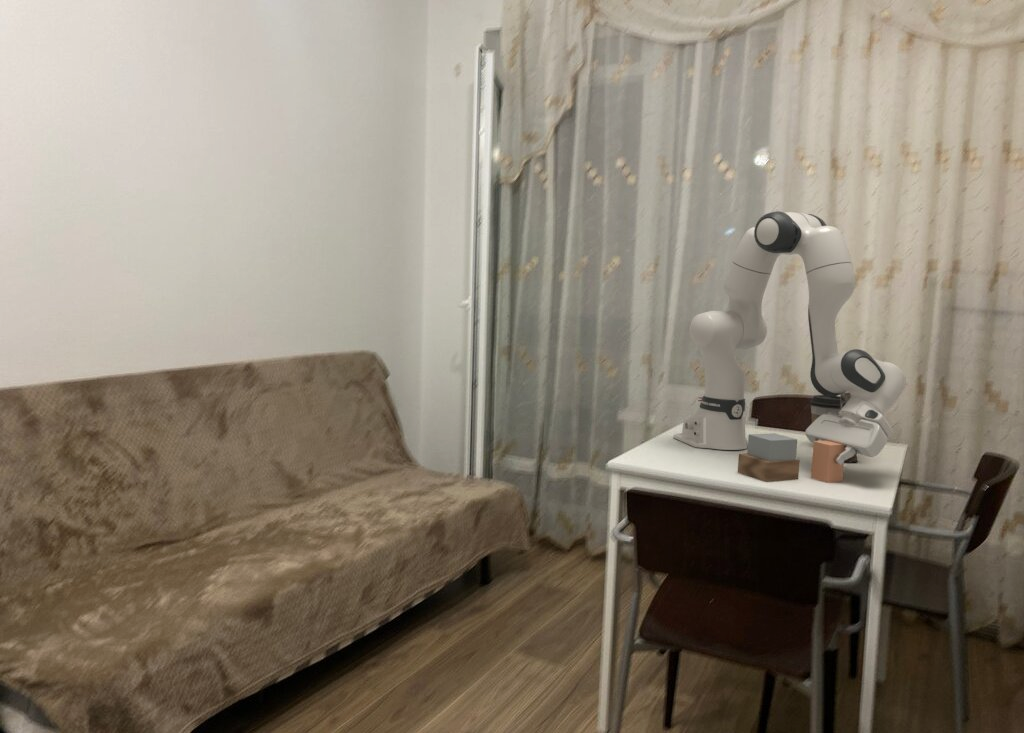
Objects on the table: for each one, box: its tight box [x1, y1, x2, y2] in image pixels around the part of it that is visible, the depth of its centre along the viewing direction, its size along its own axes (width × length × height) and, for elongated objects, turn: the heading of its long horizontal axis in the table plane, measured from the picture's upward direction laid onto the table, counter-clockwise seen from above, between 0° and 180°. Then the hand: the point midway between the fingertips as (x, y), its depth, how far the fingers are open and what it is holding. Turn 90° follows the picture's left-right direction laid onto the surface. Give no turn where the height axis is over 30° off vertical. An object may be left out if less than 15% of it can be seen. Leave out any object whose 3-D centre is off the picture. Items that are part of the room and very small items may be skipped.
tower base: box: [737, 452, 801, 483], centre depth 193 cm, size 10×10×5 cm
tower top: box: [746, 432, 798, 462], centre depth 192 cm, size 8×8×5 cm
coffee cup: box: [808, 394, 840, 444], centre depth 233 cm, size 11×11×15 cm
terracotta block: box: [810, 441, 845, 483], centre depth 191 cm, size 5×5×9 cm
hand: (826, 459), depth 191 cm, fingers closed on terracotta block, 5 cm apart
